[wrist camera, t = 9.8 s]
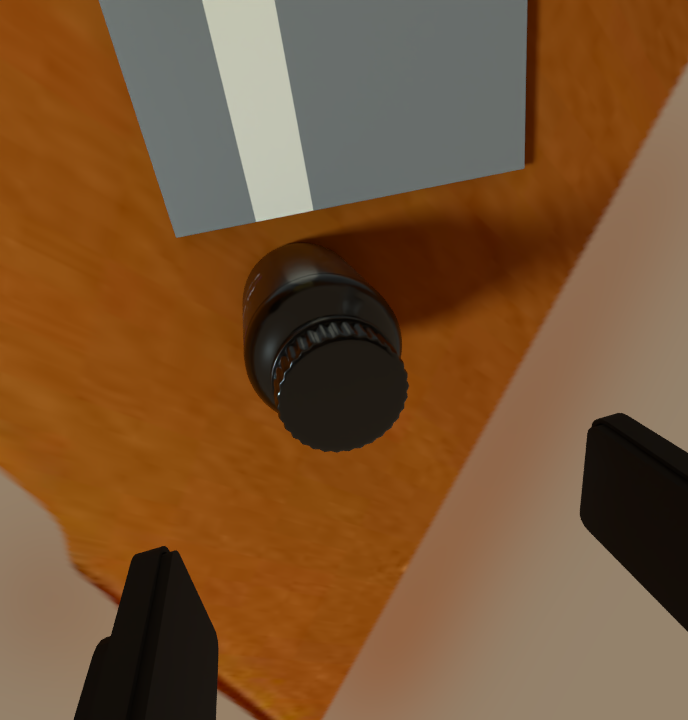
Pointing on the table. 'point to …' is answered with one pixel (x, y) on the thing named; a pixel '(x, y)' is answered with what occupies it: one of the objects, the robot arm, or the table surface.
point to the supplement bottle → (322, 348)
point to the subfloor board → (319, 99)
